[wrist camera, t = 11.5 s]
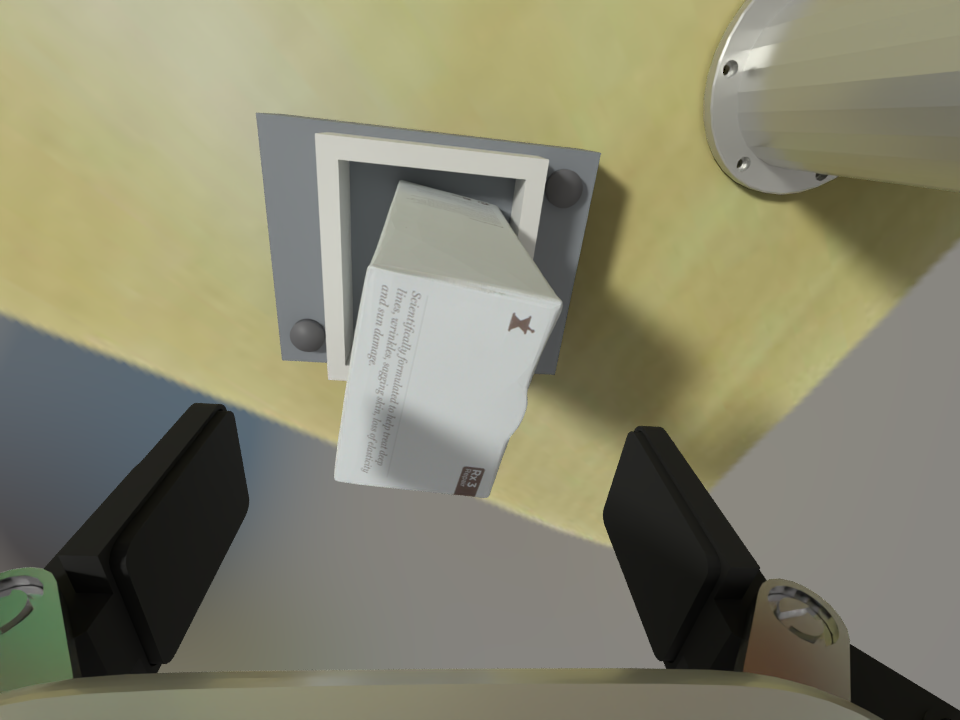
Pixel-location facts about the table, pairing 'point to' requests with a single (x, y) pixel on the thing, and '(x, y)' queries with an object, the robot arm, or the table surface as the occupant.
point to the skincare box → (442, 347)
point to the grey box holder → (366, 202)
